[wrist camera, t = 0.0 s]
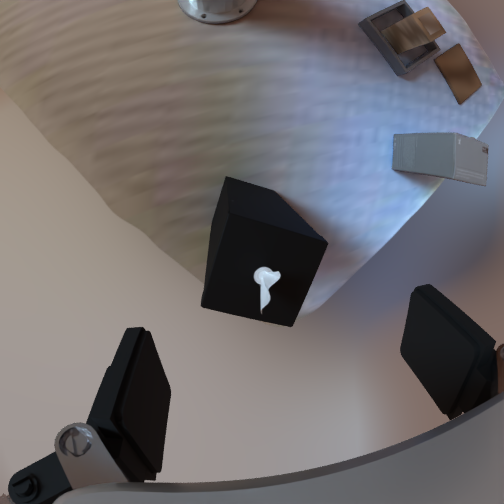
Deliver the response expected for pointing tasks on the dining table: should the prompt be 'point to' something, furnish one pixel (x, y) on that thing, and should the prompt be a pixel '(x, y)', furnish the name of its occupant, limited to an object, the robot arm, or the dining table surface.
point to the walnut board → (458, 73)
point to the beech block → (413, 31)
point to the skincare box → (441, 156)
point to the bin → (384, 45)
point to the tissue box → (259, 255)
